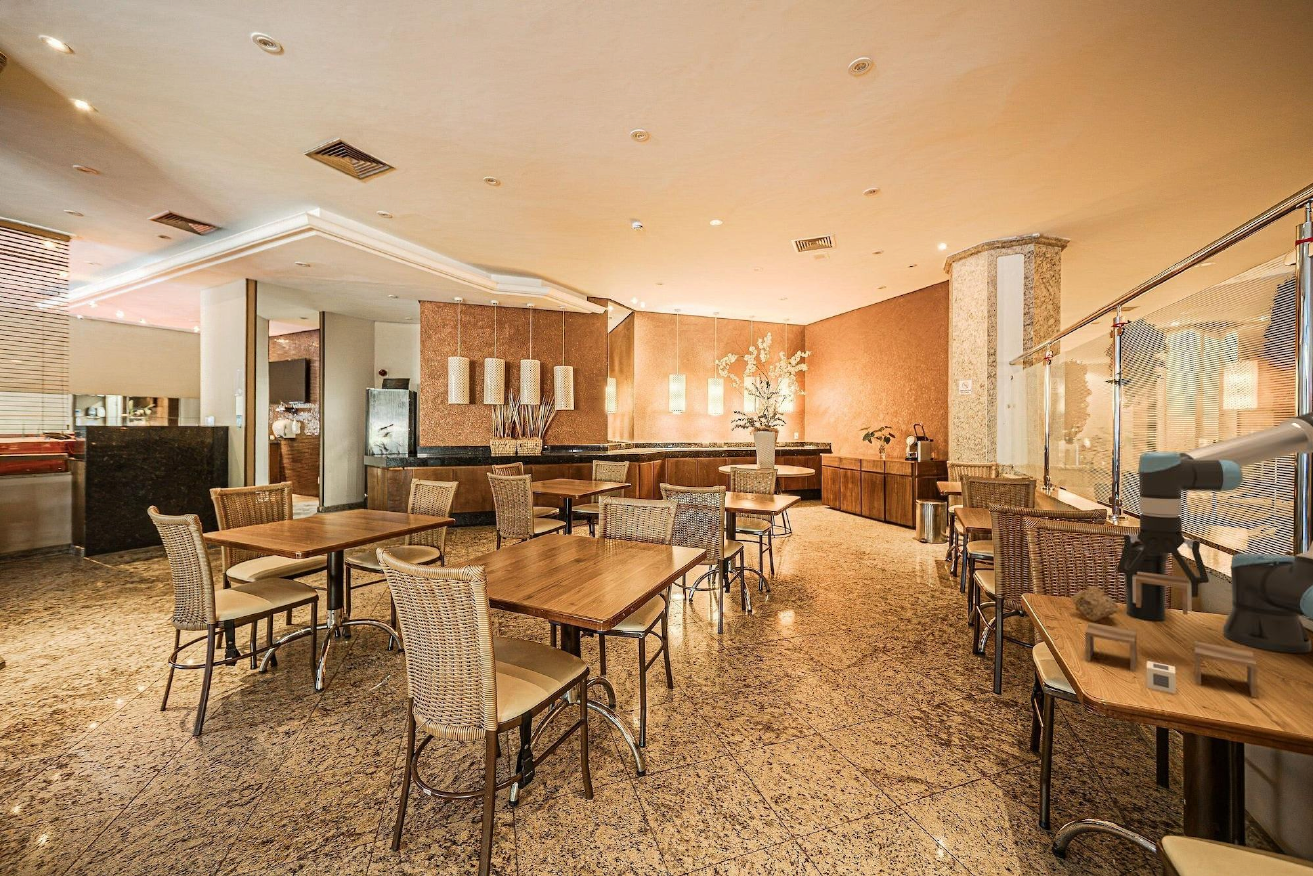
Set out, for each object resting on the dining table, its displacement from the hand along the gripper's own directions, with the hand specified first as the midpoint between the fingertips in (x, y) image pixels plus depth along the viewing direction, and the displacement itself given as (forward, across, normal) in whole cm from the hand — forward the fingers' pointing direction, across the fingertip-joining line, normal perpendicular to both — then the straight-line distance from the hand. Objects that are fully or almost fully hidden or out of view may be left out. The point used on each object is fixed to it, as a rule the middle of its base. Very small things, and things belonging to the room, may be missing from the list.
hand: (1161, 605), depth 132 cm
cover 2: (0, 0, 0) cm, 0 cm away
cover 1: (+13, +9, +10) cm, 19 cm away
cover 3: (+13, -10, +10) cm, 19 cm away
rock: (+13, +14, -24) cm, 30 cm away
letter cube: (+13, 0, +21) cm, 25 cm away
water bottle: (+13, +4, -36) cm, 38 cm away
